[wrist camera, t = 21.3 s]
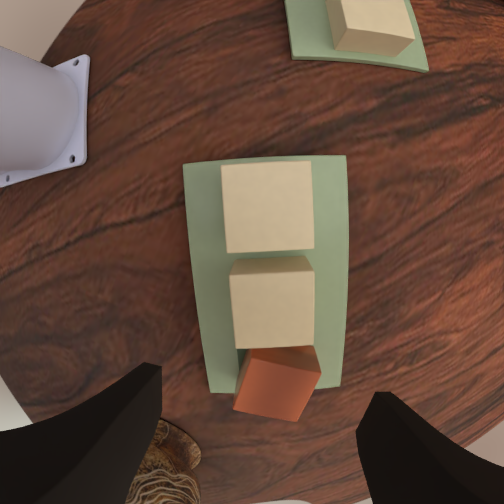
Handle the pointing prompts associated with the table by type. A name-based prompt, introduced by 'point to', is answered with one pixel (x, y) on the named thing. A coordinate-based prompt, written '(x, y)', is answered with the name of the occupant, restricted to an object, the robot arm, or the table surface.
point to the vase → (167, 470)
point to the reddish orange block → (276, 381)
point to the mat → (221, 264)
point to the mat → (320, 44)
